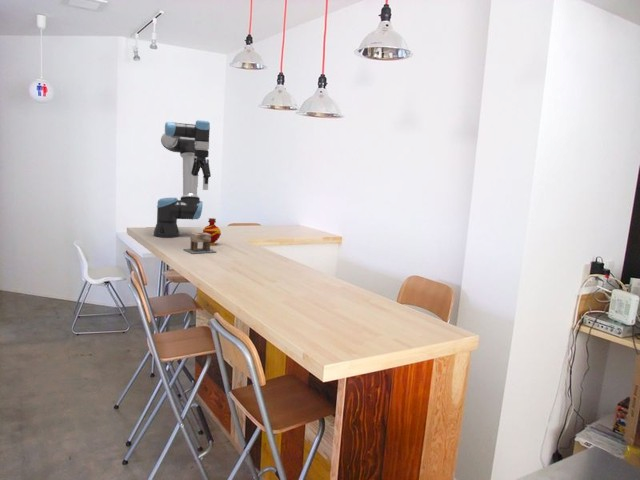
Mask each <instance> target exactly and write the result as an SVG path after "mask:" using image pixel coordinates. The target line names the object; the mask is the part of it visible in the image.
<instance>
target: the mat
mask: <svg viewBox="0 0 640 480" xmlns="http://www.w3.org/2000/svg"><path fill="white" fill-rule="evenodd" d="M183 251H185V252H186V253H189V254H190V255H199V254H201V255H202V254H216V253H217V251H216V250H214V249H211V248H210V251H206V249H205V250H204V249H203V247H198V251H197V252H194V251H193V250H190V248H183Z"/></svg>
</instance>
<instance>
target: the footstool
mask: <svg viewBox="0 0 640 480" xmlns="http://www.w3.org/2000/svg"><path fill="white" fill-rule="evenodd" d="M189 237H190V238H189V240H190V248H189V249H190V250H193V251H194V252H197V251H198V248H199V247H198V246H199V245H198V244H199V243H202V248H203V249H204V250H205V249H206V251H210V249H211V245H210V242H211V234H208V233H203V232H190V235H189Z"/></svg>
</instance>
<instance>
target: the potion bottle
mask: <svg viewBox="0 0 640 480" xmlns="http://www.w3.org/2000/svg"><path fill="white" fill-rule="evenodd" d="M208 223H209V225H206V226H204V228H203V229H202V233H208V234H211V242H210V246H215V245H216V242H217V241H218V240H219V239H220V237H221V236H222V235H221V234H222V232H221V229H220V228H219V227H218V226H217V225H215V224H216V223H217V221H216V218H213V217H211V218H208Z"/></svg>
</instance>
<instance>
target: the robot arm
mask: <svg viewBox="0 0 640 480" xmlns="http://www.w3.org/2000/svg"><path fill="white" fill-rule="evenodd" d="M210 129H211V126H210V121H209V120H199V119H196V121H195V123H194V124H192V123H181V122H174V121H166V122H165V124H164V133H163V134H162V135H161V137H160V142H161V145H162V147H164V149H166V150H168V151H170V152H173V153H179V155H180V157H181V158H182V196H181V197H180V199H178V198H177V197H163V198H160V199H158V200H157V204H156V208H157V209H156V210H157V211H156V225H155V227H154V230H153V236H155V237H159V238H177V237H180V230H179V227H178V226H179V225H178V224H177V223H178V220H192V221H193V220H199V219H200V218H201V215H202V212H203V201H201V198H200V197H199V195H198V188H199V186H198V185H199V173H200V170H201V171H202V175H203V176H202V191H208V190H209V179H210V177H211V175H212V174H211V169H210V164H209V161H210V160H209V159H207V158H209V150H210V133H211V132H210Z"/></svg>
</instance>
